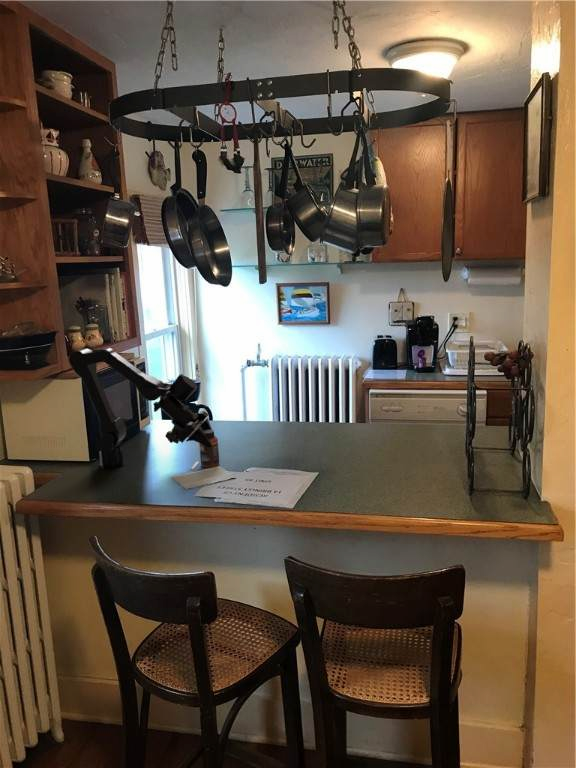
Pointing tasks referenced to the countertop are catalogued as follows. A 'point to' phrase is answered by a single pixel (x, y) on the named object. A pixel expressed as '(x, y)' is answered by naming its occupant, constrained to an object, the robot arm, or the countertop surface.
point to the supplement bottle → (209, 451)
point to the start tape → (194, 465)
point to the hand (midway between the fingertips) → (213, 443)
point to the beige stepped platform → (199, 477)
